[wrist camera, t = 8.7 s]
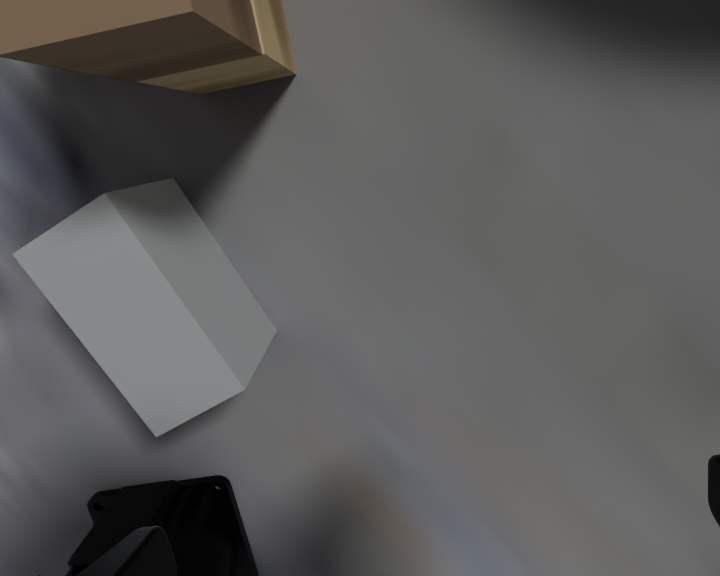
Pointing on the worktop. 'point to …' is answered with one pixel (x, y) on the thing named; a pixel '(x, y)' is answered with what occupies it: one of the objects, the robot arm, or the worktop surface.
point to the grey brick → (152, 301)
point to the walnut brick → (128, 35)
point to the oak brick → (247, 70)
